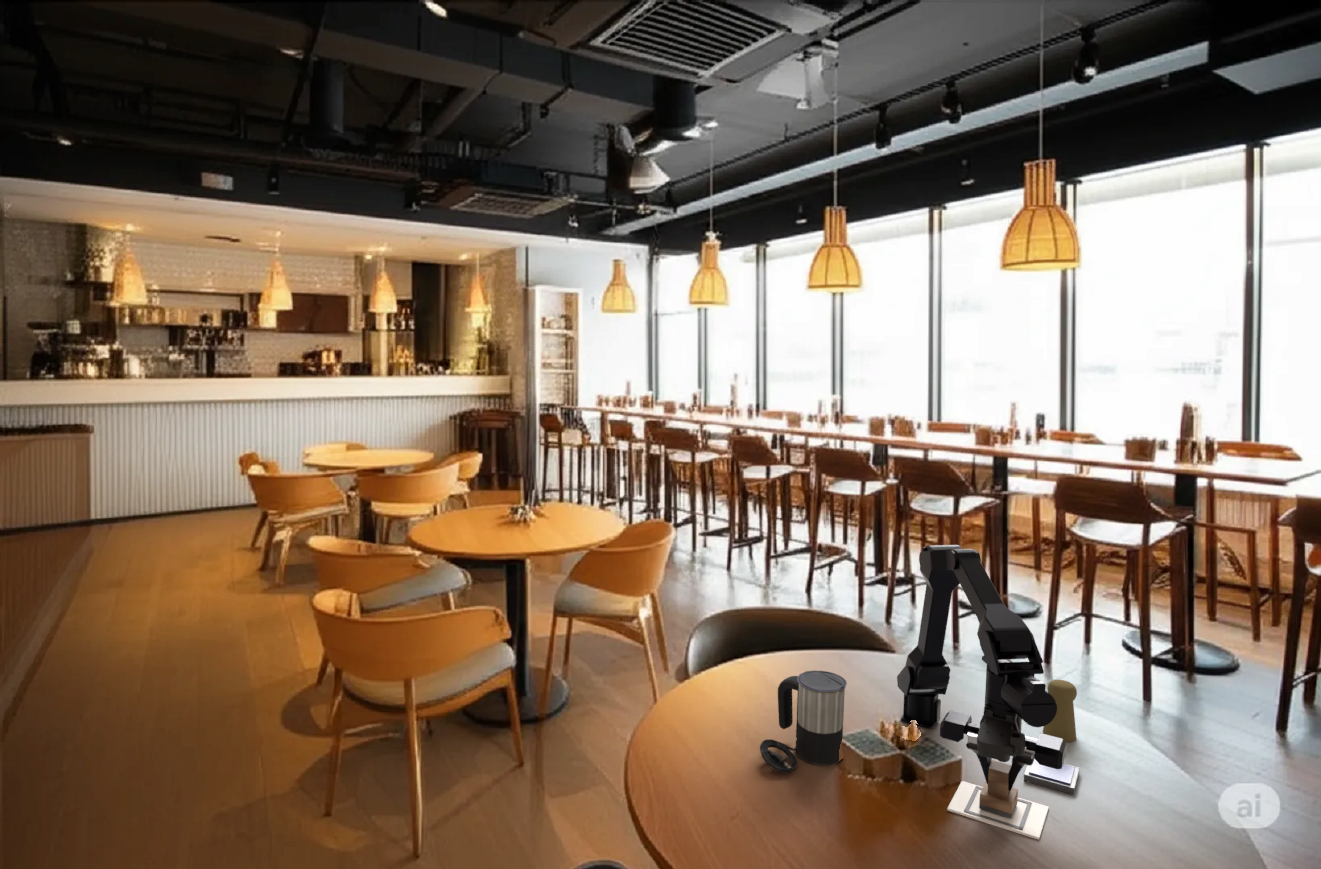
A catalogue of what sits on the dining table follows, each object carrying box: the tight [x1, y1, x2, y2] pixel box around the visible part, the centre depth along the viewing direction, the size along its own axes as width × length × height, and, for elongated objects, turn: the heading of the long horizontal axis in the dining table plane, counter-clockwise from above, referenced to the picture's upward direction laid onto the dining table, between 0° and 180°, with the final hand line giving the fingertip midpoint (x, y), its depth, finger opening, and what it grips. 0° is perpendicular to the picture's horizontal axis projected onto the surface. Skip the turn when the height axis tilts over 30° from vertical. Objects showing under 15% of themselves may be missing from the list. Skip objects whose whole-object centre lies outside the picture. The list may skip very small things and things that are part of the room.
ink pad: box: [1023, 759, 1080, 796], centre depth 140 cm, size 8×8×2 cm
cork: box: [1042, 679, 1078, 743], centre depth 155 cm, size 6×6×11 cm
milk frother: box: [759, 670, 848, 774], centre depth 146 cm, size 14×16×15 cm
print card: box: [947, 780, 1050, 841], centre depth 131 cm, size 14×10×1 cm
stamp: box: [979, 759, 1019, 818], centre depth 130 cm, size 5×5×7 cm
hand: (999, 786), depth 130 cm, fingers closed on stamp, 3 cm apart
